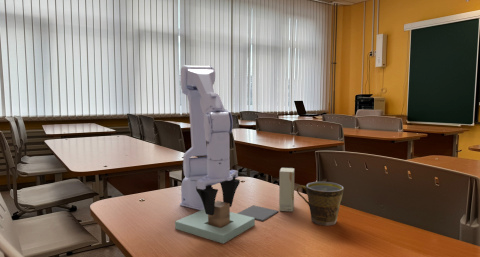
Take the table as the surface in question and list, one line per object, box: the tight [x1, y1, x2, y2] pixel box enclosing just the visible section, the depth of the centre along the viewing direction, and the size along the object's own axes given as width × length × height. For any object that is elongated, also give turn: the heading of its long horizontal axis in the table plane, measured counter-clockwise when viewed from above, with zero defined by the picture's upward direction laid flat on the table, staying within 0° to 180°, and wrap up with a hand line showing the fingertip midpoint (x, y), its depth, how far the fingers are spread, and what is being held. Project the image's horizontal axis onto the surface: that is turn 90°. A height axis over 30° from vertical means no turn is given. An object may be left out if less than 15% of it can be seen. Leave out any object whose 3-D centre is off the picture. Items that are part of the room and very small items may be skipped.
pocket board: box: [174, 209, 256, 244], centre depth 92 cm, size 16×14×2 cm
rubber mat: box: [236, 205, 279, 222], centre depth 102 cm, size 9×9×1 cm
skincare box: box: [278, 167, 295, 212], centre depth 106 cm, size 6×4×12 cm
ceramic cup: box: [296, 181, 345, 227], centre depth 96 cm, size 13×10×10 cm
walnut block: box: [208, 200, 231, 228], centre depth 89 cm, size 4×4×7 cm
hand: (219, 210), depth 89 cm, fingers open, 7 cm apart
